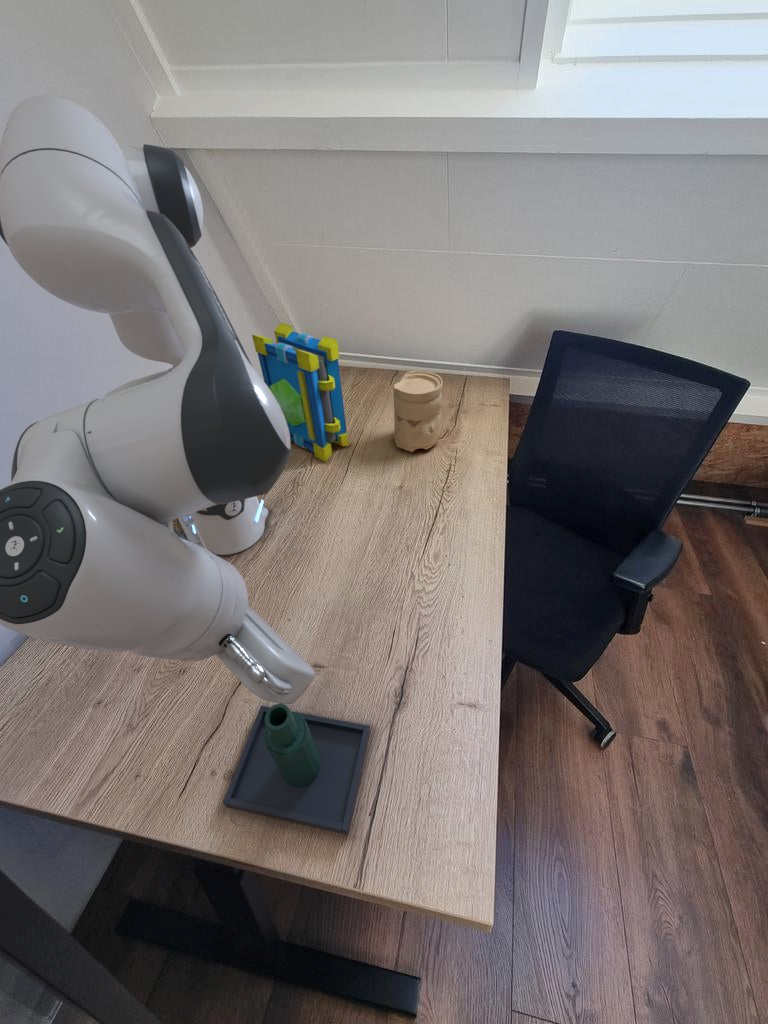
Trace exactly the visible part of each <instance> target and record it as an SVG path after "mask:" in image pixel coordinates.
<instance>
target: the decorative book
mask: <svg viewBox="0 0 768 1024" xmlns="http://www.w3.org/2000/svg"><path fill="white" fill-rule="evenodd" d="M273 332H274V337H275V341H276V342H275V343H274V342H273V339H272V338H269V337H266V336H263V335H258V334H251V337H252V342H253V345H254V349H255V352H256V354H257V356H258V357H257V358H258V361H259V365H260V369H261V374H262V379H263V381H264V382H265V383H266V385H267V386H268V387H269V389H270V390H271V392H272V393H273V395H274V396H275V398H276V400H277V402H278V403H279V405H280V407H281V409H282V412H283V414H284V416H285V419H286V422H287V425H288V428H289V433H290V442H293V443H294V444H295V445H296V446H299V447H301V448H303V449H306V450H309V451H311V452H312V453H314V457H315V458H318V459H319V460H321V461H323V462H325V463H327V462H328V461H329V459H330V458H331V456H332V455H333V450H332V449H333V448H332V443H335V444H337V445H339V446H341V447H348V446H350V442H349V433H348V431H347V423H346V416H345V406H344V399H343V391H342V383H341V373H340V366H339V365H340V364H339V359H340V349H339V343H338V339H335V338H332V337H329V336H327V335H324V336H323V337H322V338H321V339H318V338H315V337H314V336H312V335H309V334H307V333H302V332H301V333H299V332H295V331H294V329H293V325H290V324H287V323H283V322H280V323H279V324H278V325H277V327H276V328H275V329H274V331H273Z"/></svg>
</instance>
